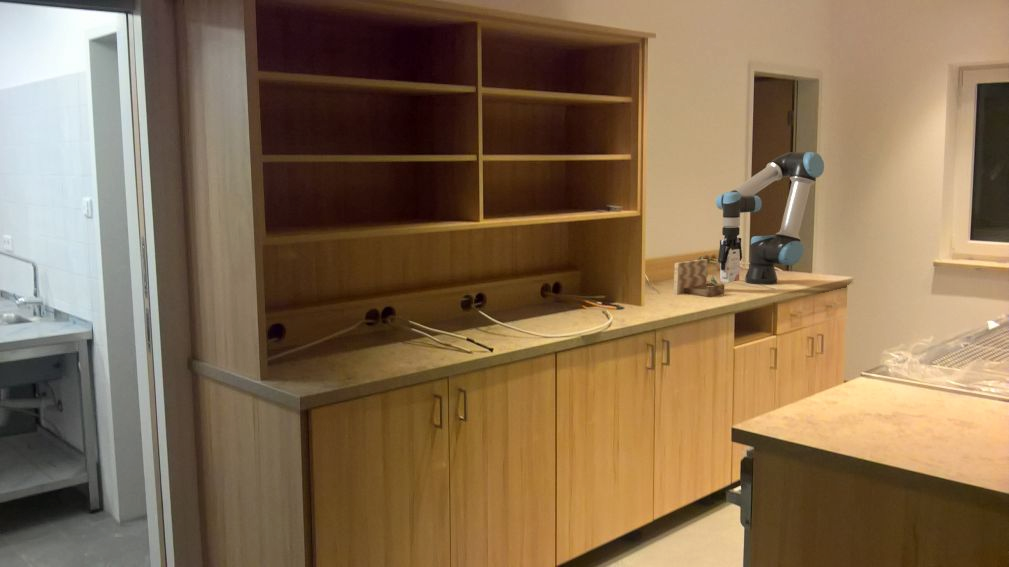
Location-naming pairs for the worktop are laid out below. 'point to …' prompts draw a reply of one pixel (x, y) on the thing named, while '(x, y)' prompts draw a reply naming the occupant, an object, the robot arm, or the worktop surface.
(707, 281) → the yellow and green bunch
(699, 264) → the brown wooden bookend
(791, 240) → the robot arm
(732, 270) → the ink cartridge box
